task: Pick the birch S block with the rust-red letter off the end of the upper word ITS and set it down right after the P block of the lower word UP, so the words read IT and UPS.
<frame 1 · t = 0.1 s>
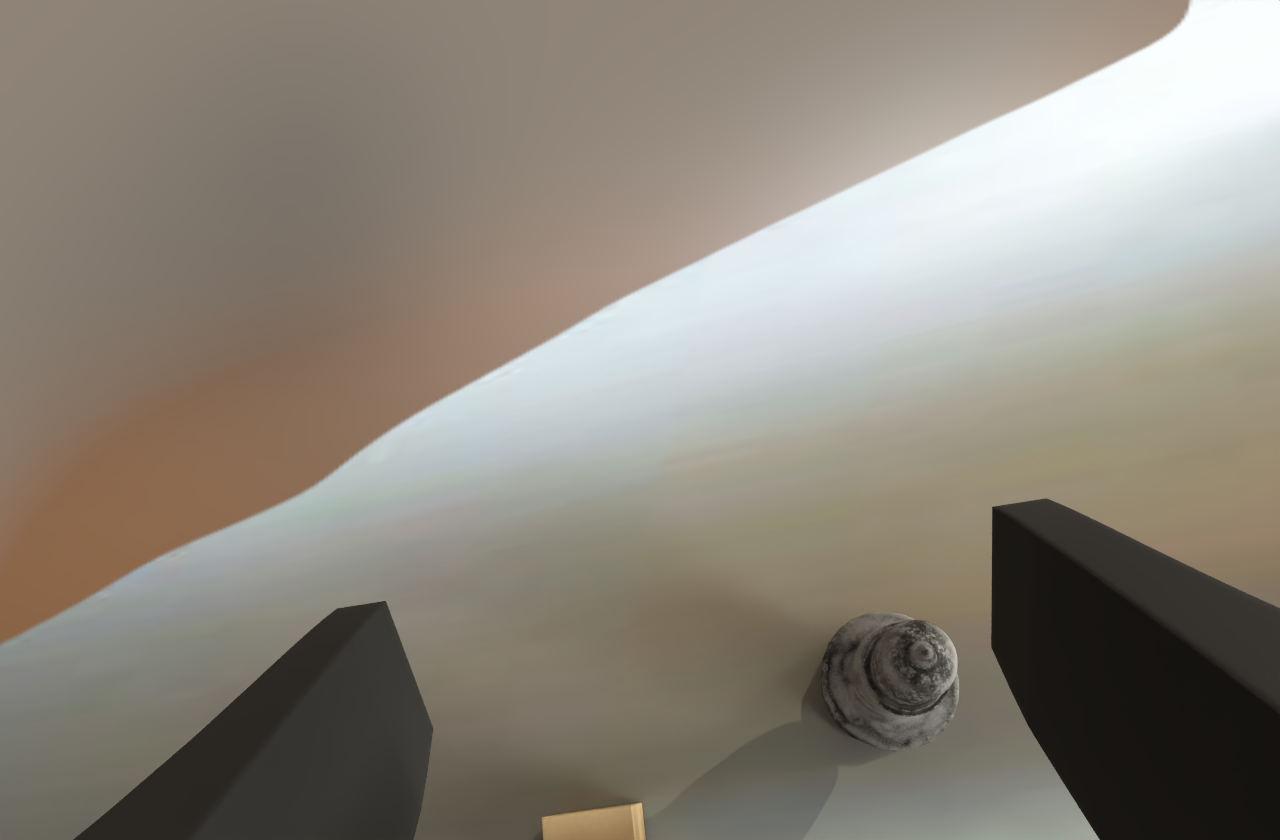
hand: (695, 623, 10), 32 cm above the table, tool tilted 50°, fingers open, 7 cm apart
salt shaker: (877, 687, 39), on the table
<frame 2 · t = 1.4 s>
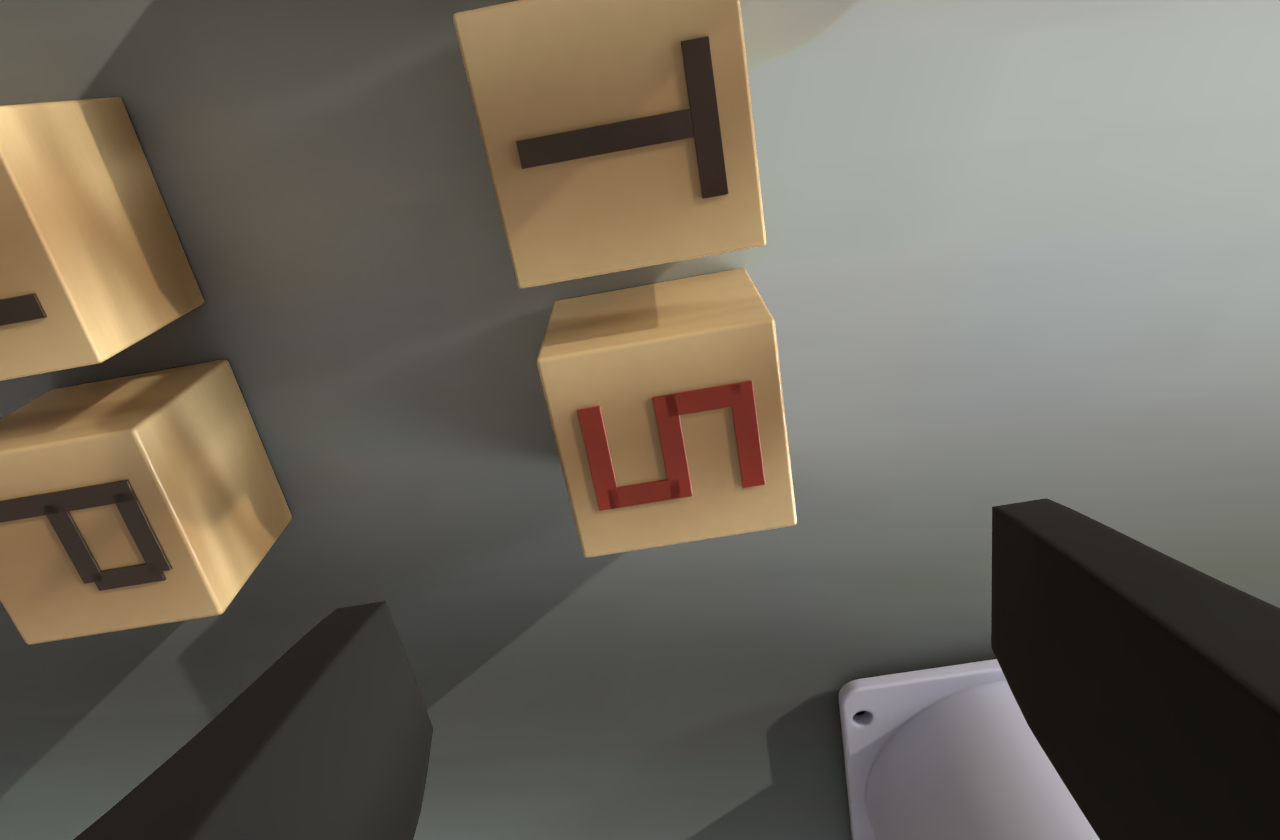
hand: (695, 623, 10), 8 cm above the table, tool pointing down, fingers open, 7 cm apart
tile U: (69, 223, 16), on the table
tile P: (177, 455, 18), on the table
tile S: (664, 373, 17), on the table
tile T: (620, 119, 15), on the table
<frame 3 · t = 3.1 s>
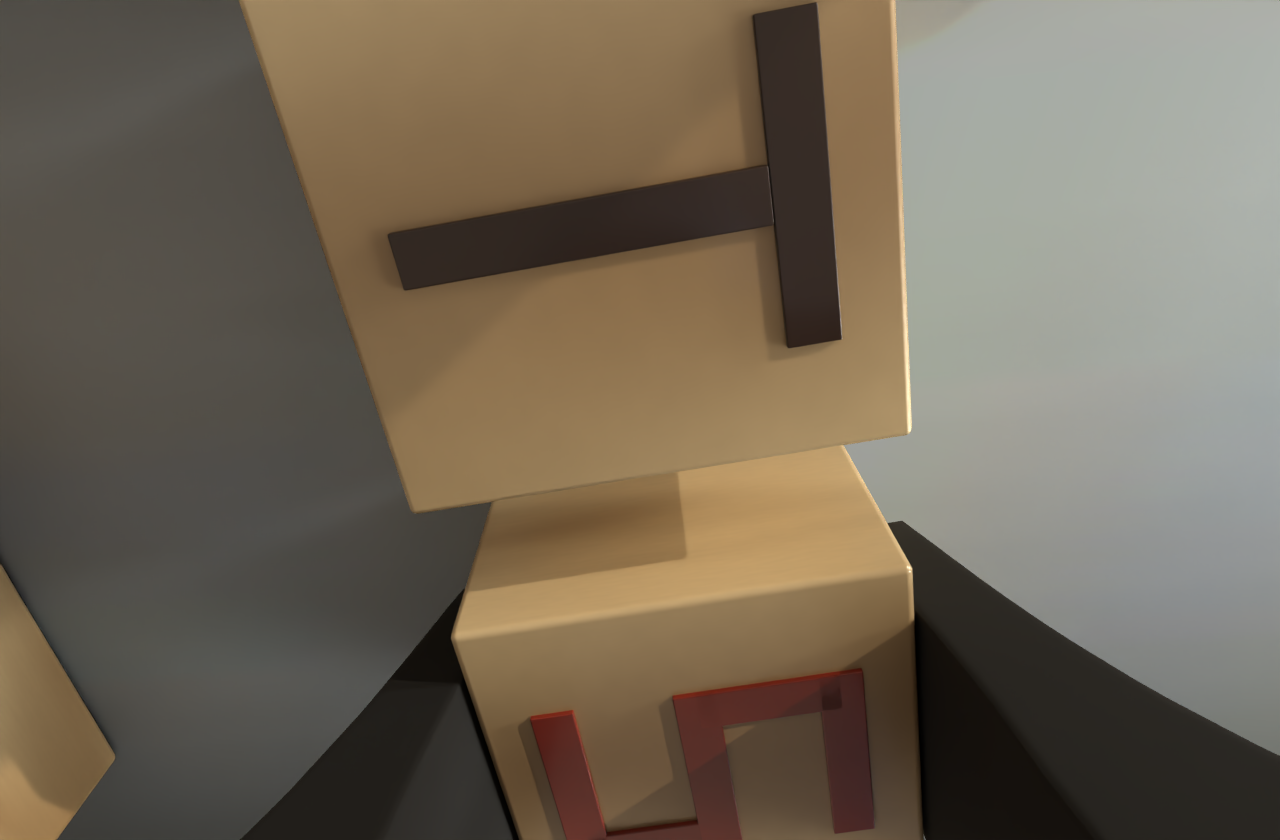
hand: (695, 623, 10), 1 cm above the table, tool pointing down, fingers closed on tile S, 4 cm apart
tile S: (684, 557, 11), on the table, touching gripper
tile T: (616, 161, 9), on the table
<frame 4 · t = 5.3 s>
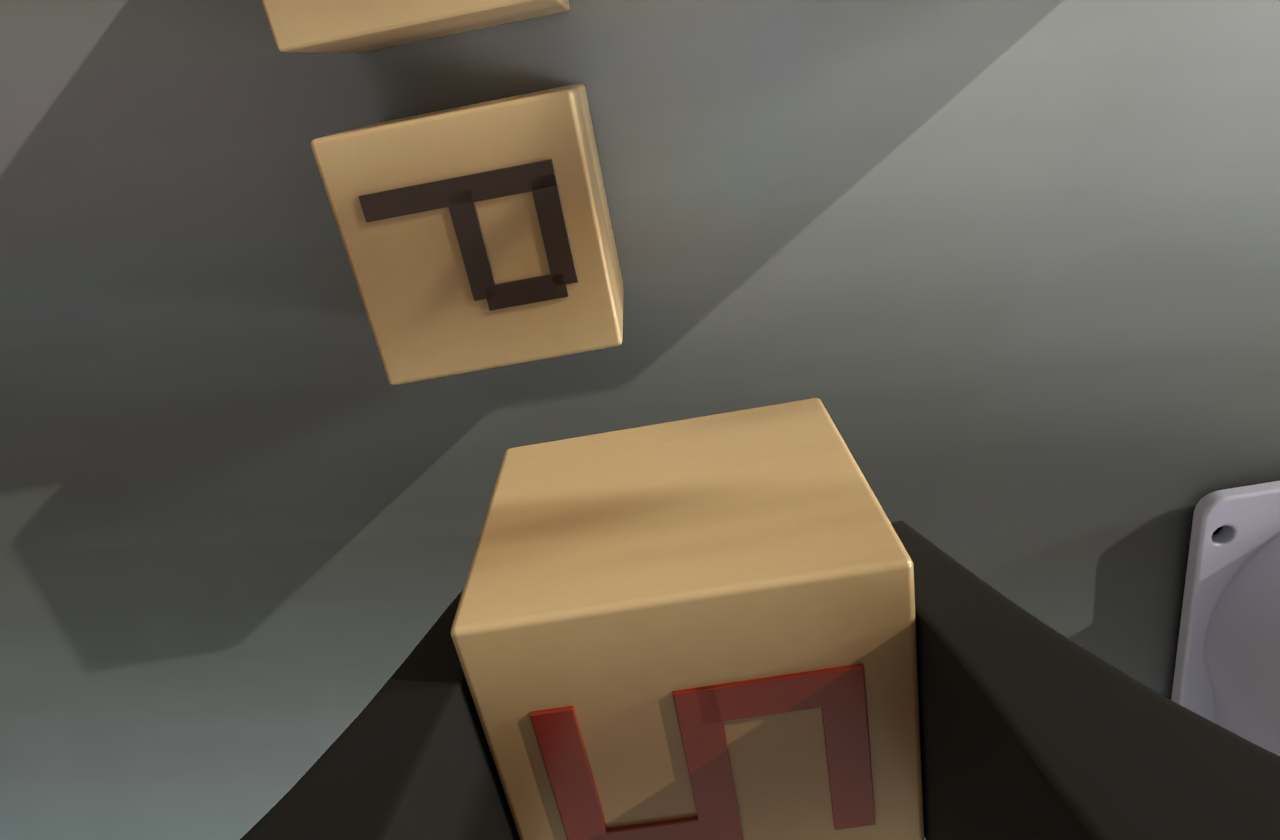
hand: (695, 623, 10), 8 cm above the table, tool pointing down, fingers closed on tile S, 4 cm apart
tile P: (505, 209, 16), on the table
tile S: (684, 553, 11), point 7 cm above the table, touching gripper
when the fingers open (1 cm above the table, at t = 7.7 s): tile S stays where it is, on the table.
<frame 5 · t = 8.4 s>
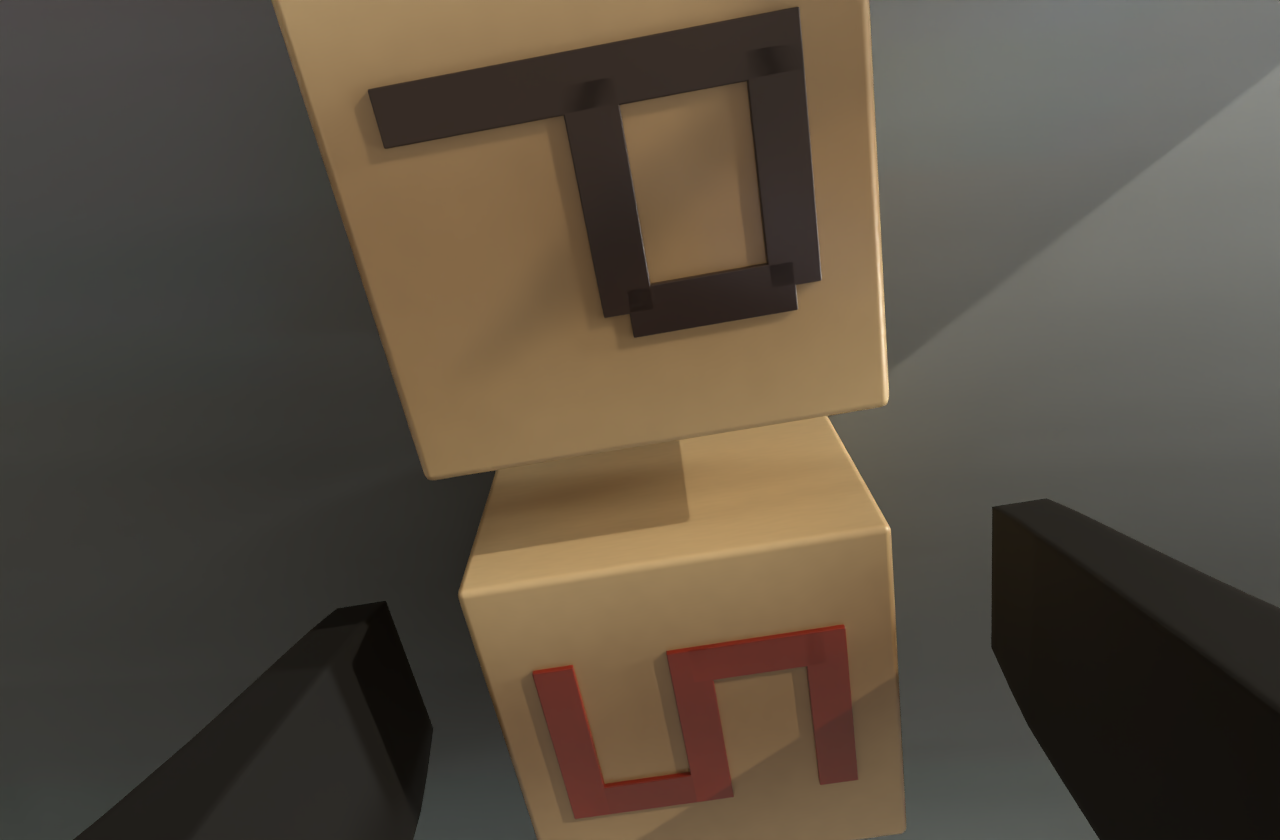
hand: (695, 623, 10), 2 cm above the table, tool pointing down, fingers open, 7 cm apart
tile P: (615, 156, 9), on the table
tile S: (679, 532, 11), on the table
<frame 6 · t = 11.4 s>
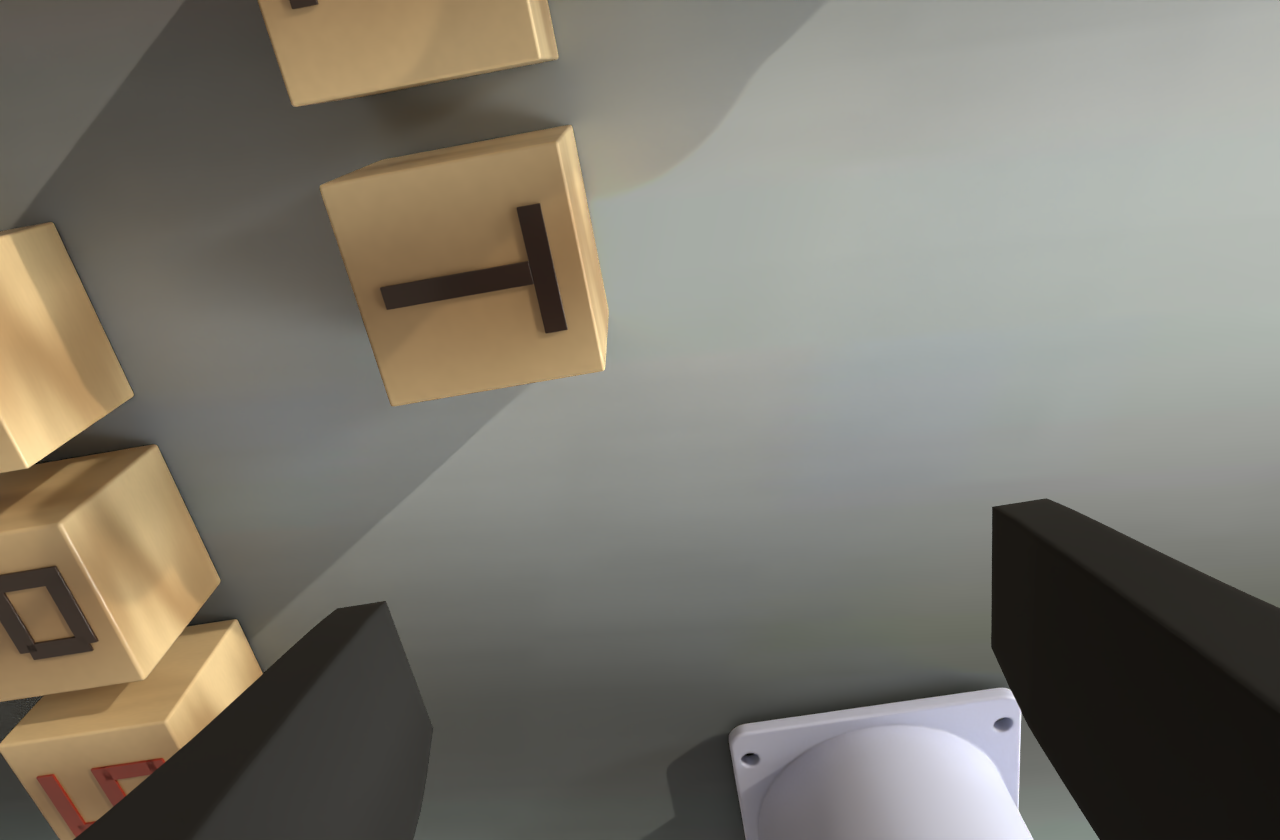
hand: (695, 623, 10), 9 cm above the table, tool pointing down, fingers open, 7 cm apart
tile U: (10, 327, 18), on the table
tile P: (114, 527, 20), on the table
tile S: (195, 687, 22), on the table
tile T: (498, 240, 17), on the table
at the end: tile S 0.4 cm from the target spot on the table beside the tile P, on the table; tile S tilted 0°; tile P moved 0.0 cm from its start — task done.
